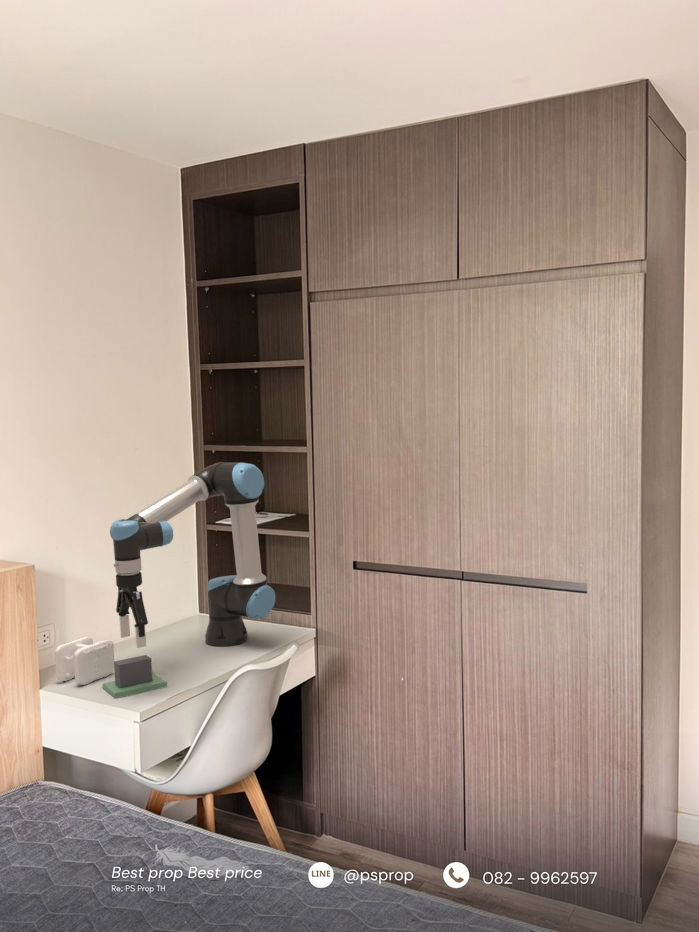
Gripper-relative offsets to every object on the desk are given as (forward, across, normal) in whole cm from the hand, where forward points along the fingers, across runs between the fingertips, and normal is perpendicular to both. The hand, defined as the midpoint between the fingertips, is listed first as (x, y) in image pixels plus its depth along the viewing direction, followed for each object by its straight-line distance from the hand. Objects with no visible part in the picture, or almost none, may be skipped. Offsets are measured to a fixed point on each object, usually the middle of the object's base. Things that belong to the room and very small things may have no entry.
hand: (133, 641), depth 255 cm
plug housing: (+12, 0, -1) cm, 12 cm away
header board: (+14, 0, -1) cm, 14 cm away
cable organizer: (+14, -18, -10) cm, 25 cm away
